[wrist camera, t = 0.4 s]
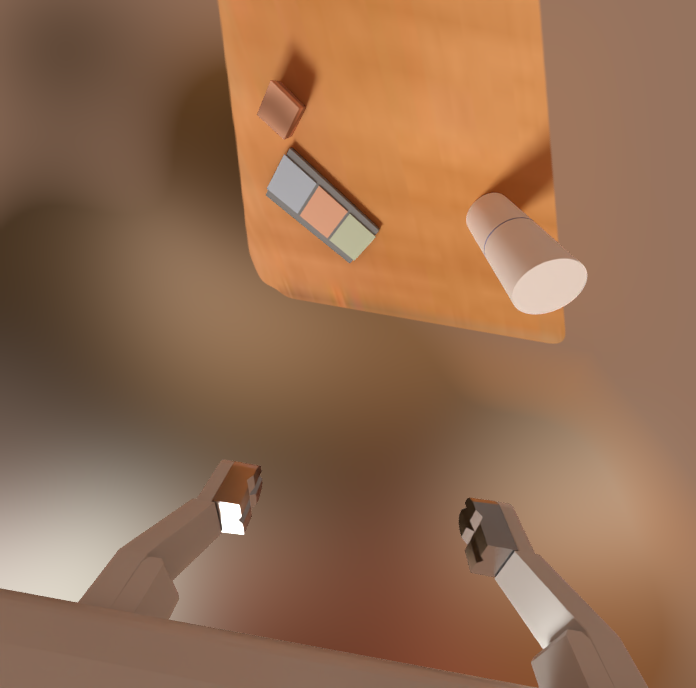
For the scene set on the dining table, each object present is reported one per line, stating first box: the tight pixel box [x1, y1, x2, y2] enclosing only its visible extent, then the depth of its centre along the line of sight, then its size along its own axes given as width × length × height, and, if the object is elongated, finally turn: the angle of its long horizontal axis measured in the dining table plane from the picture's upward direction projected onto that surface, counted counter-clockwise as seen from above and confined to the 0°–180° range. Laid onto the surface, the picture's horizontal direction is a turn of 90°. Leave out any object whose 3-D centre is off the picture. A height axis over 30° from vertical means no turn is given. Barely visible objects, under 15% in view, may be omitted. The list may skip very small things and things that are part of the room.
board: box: [266, 147, 379, 263], centre depth 50 cm, size 9×20×2 cm, turn 51°
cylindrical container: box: [466, 193, 587, 314], centre depth 38 cm, size 7×7×25 cm
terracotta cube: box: [257, 80, 306, 139], centre depth 39 cm, size 4×4×4 cm
